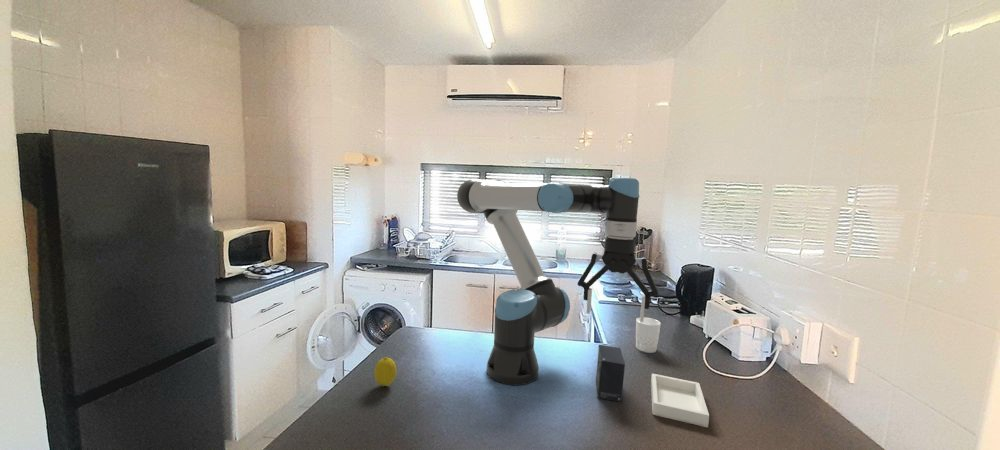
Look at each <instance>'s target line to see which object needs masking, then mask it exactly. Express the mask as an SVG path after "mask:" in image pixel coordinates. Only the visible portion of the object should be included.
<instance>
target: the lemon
mask: <svg viewBox="0 0 1000 450" xmlns="http://www.w3.org/2000/svg"><path fill="white" fill-rule="evenodd" d="M395 362H396V361H394V360H393V359H392V358H390V357H387V356H385V357H383V358H380V360H378V362H377V363H376V364H375V368H374V379H375V382H376V383H377V384H378V385H380V386H382V387H384V386H386V387H387V386H389V385H391V384H392V383H393V382H394V381H395V379H396V376H397V366H396V363H395Z"/></svg>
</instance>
